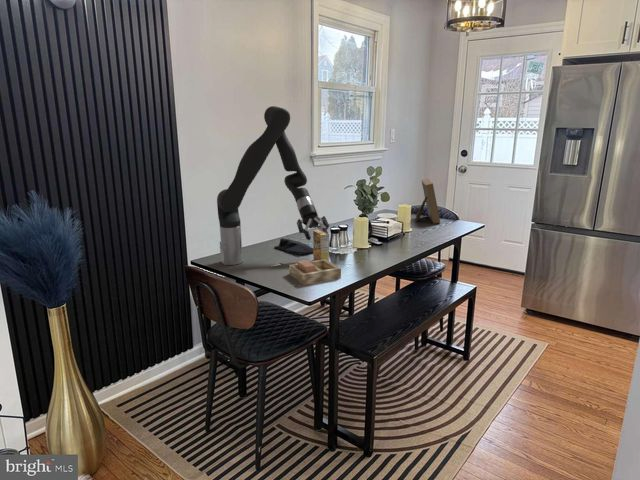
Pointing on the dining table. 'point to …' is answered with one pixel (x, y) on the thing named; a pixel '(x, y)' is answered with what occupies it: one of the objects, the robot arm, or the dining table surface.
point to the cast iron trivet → (294, 247)
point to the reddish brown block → (306, 266)
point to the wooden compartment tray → (316, 272)
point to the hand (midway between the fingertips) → (318, 238)
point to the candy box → (320, 245)
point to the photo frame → (429, 202)
